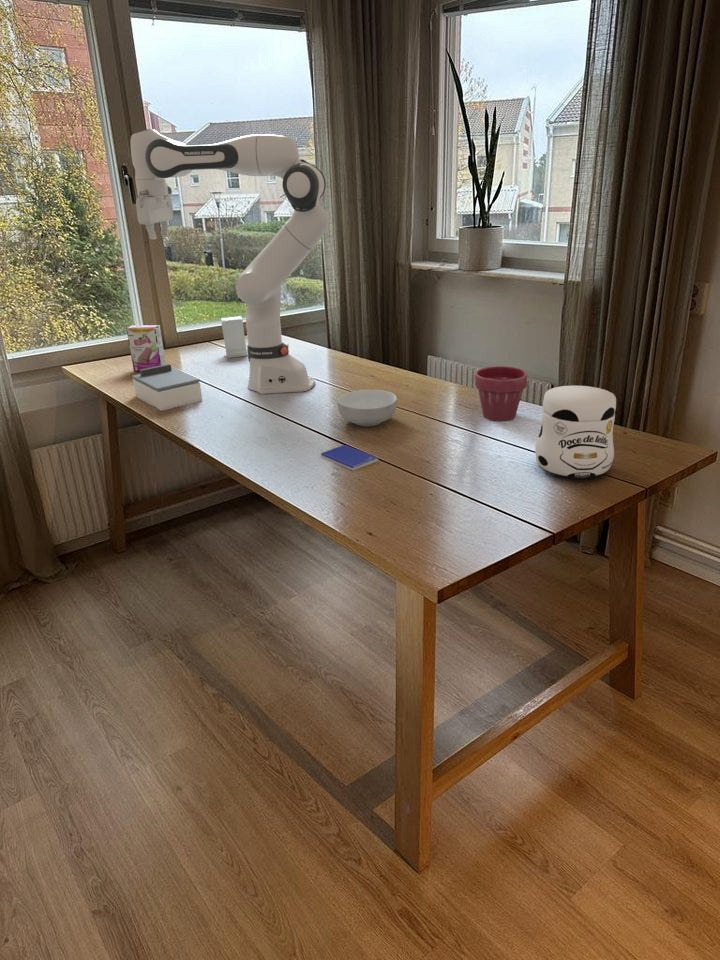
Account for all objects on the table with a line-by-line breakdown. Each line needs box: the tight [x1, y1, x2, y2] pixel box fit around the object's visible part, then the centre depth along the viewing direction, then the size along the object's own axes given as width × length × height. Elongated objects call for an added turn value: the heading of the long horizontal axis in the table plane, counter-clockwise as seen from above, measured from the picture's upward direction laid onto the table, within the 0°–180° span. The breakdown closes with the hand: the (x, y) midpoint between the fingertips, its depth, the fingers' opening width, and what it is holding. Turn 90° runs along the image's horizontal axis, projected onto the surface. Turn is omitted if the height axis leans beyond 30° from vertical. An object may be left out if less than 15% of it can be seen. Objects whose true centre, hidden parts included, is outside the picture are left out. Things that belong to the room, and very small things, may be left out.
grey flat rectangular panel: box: [131, 363, 201, 391], centre depth 215 cm, size 20×14×3 cm
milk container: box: [534, 385, 617, 480], centre depth 153 cm, size 17×17×18 cm
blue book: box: [320, 444, 379, 472], centre depth 167 cm, size 2×8×12 cm
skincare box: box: [220, 315, 248, 359], centre depth 263 cm, size 8×6×15 cm
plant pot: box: [474, 365, 528, 422], centre depth 189 cm, size 14×14×13 cm
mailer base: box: [132, 378, 203, 412], centre depth 217 cm, size 20×14×6 cm
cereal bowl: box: [337, 389, 398, 427], centre depth 190 cm, size 17×17×7 cm
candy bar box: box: [126, 324, 167, 373], centre depth 247 cm, size 11×5×16 cm, turn 84°
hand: (159, 237), depth 210 cm, fingers open, 8 cm apart
